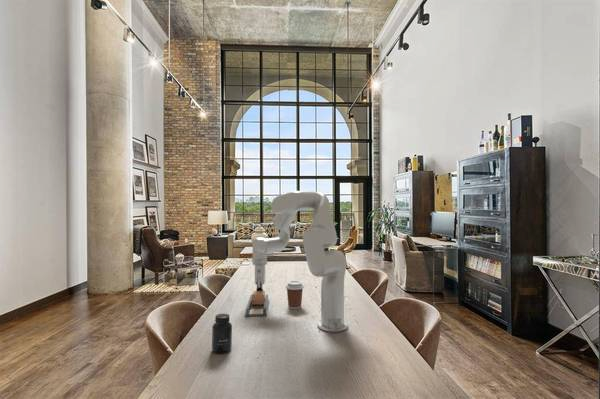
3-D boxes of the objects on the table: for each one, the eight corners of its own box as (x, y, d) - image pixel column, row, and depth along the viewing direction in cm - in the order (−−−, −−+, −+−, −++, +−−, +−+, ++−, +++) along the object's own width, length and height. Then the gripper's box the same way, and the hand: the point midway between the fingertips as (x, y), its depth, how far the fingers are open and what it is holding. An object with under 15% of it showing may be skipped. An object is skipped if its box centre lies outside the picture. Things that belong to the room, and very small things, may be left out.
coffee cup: (288, 310, 158) (288, 285, 158) (283, 304, 166) (283, 281, 166) (306, 308, 161) (306, 283, 161) (300, 303, 169) (300, 279, 169)
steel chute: (266, 316, 150) (266, 308, 150) (244, 316, 149) (244, 308, 149) (269, 301, 172) (269, 294, 172) (249, 301, 171) (249, 294, 171)
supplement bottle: (221, 356, 111) (221, 320, 112) (207, 351, 115) (207, 316, 115) (235, 348, 117) (236, 314, 117) (222, 344, 121) (222, 311, 121)
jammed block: (264, 304, 163) (264, 294, 163) (252, 304, 162) (252, 294, 162) (265, 300, 169) (265, 290, 169) (253, 300, 168) (253, 290, 168)
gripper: (266, 264, 164) (266, 301, 164) (267, 258, 179) (267, 292, 179) (250, 264, 164) (250, 301, 164) (253, 258, 179) (253, 292, 179)
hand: (259, 296), depth 172 cm, fingers closed
